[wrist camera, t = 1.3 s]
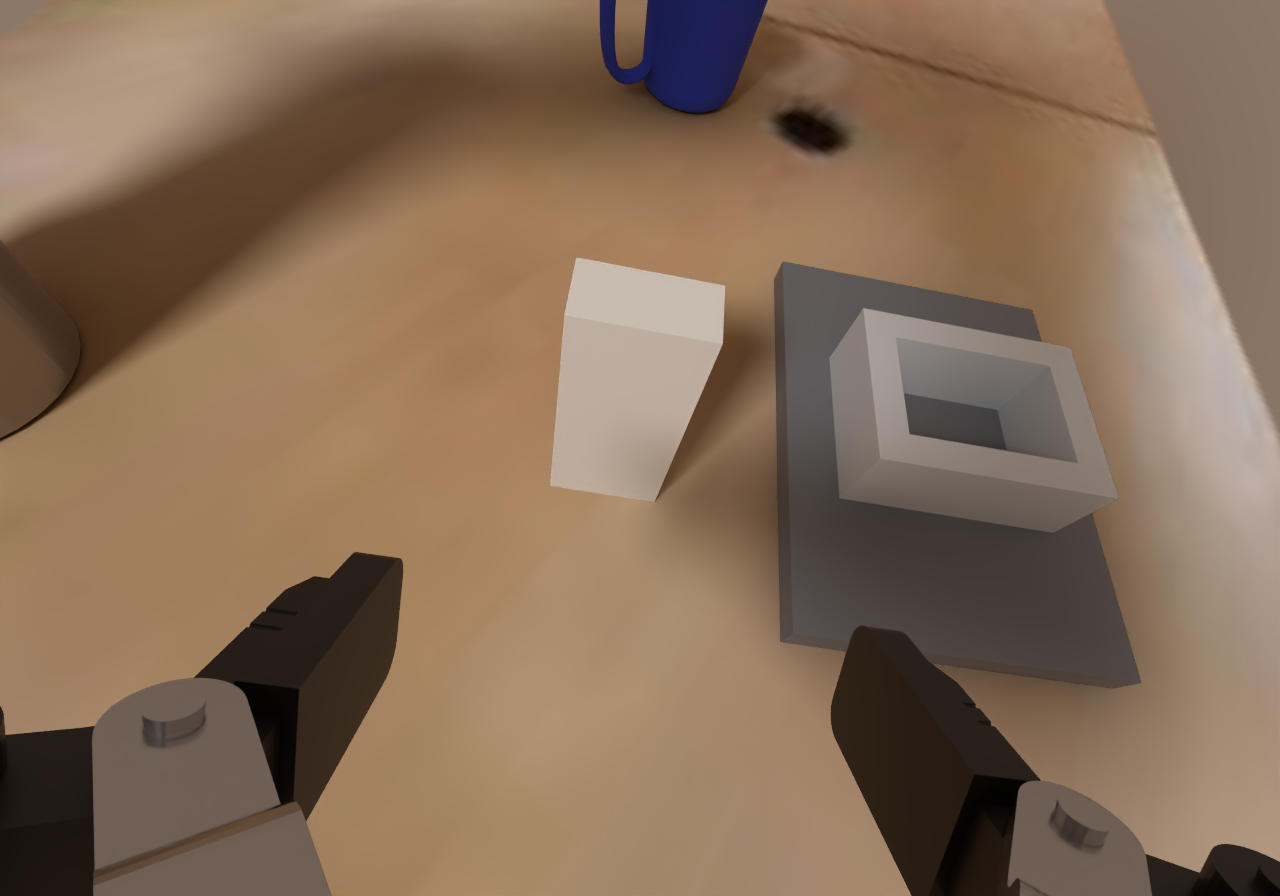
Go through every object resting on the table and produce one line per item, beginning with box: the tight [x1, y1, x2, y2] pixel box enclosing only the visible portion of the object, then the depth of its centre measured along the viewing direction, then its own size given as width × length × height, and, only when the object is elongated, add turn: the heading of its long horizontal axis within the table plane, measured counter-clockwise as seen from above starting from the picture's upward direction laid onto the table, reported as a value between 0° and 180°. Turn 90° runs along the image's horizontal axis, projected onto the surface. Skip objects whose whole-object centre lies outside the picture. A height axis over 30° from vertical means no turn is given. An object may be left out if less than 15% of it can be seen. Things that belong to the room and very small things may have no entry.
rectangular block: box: [550, 258, 725, 502], centre depth 25 cm, size 2×5×12 cm, turn 84°
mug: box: [600, 0, 768, 113], centre depth 42 cm, size 8×12×10 cm
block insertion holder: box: [774, 262, 1141, 688], centre depth 32 cm, size 22×16×6 cm
